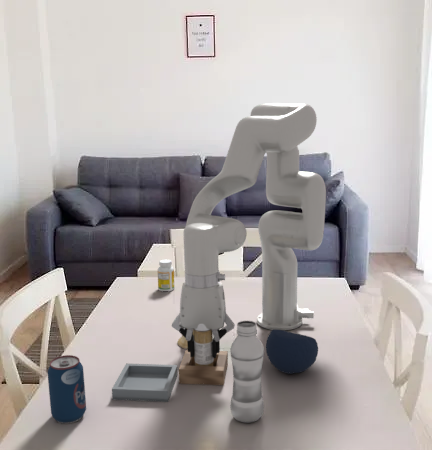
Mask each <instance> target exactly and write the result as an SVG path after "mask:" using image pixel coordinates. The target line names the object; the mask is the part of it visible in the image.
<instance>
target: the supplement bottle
mask: <svg viewBox="0 0 432 450" xmlns="http://www.w3.org/2000/svg"><path fill="white" fill-rule="evenodd" d="M158 265H159V266H158V267H157V288H158V290H159V291H160V292H163V291H168V292H171V291H173V290H175V268H174V267H173V261H172V260H171V259H167V258H165V259H161V260H159V264H158Z"/></svg>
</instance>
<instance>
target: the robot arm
mask: <svg viewBox="0 0 432 450" xmlns="http://www.w3.org/2000/svg"><path fill="white" fill-rule="evenodd" d="M317 118H318V117H317V113H316V111H315V109H314V108H313V106H311V105H309V104H307V103H298V102H297V103H289V102H288V103H287V102H285V103H283V102H282V103H281V102H271V103H262V104H258V105H256V106H253V108H252V109H251V111H250V116H246V117H243V118H241V119H240V120H239V121H238V123H237V125H236V126H235V129H234V132H233V135H232V139H231V141H230V144H229V147H228V150H227V154H226V157H225V159H224V163H223V166H222V169H221V171H220V172H219V173H218V174H217V175H216V176H214V177H213V178H212V179H211V180H209V181H208V182H207V184H205V185H204V186H203V188H202V189H201V190H200V191H198V193H197V195H196V196H195V198H194V200H193V202H192V204H191V206H190V210H189V213H188V215H187V219H186V224H185V227H184V229H183V234H182V235H183V236H182V237H183V261H184V262H183V263H184V282H183V283H182V285H181V292H180V302H179V313H178V314H177V316H176V317H175V319H174V320H173V322H172V323H171V327H172V328H173V329H174V330H176V331H177V332H179V333H180V335H181V336H182V335H183V336H184V337H185V338H186V340H187V344H188V349H187V350H188V352H190V357H194V335H193V329H196V328H197V327H198V325H199V324H204V325H205V326H206V328H207V329H212V333H213V341H212V354H213V358H216V355H217V353H219V352H220V351H221V349H220V348H221V346H220V340H221V339H222V338H223V337H224V336H225V335H227V333H229V332H230V331H232V330H233V329H235V323H234V321H233V320H232V319H231V318H230V317H229V315H228V314H227V311H226V310H227V308H226V297H225V295H226V294H225V290H224V285H223V283H222V282H223V281H226V274H225V273H221V272H220V269H219V268H220V267H219V254H222V253H230V252H234V251H237V250H239V249H240V248H241V247H242V246H243V245H244V243H245V242H246V238H247V229H246V226H245V224H244V223H243V222H242V221H241V220H238V219H236V218H233V217H225V216H224V217H223V216H219V215H212V212H213V211H214V209H215V208H216V206H217V205H218V204H219V203H220V202H221V201H224V199H226V198H228V197H230V196H232V195H234V194H236V193H240V192H242V191H244V190H247V189H249V188H251V187H253V186H254V185H255V184H257V183H256V182H257V181H258V180H257V179H258V177H259V173H260V170H261V167H262V163H263V160H264V158H265V154H266V174H265V175H266V176H265V177H266V180H265V195H266V199H267V201H268V203H270V204H272V205H274V206H280V207H288V208H297V209H301V210H302V212H295V211H288V210H279V209H278V210H269V211H267V212H265V213H264V214H262V215H261V217H260V218H259V221H258V228H257V229H258V236H259V241H260V245H261V258H262V259H261V261H262V262H261V263H262V265H261V267H262V270H261V273H262V276H261V277H262V279H261V280H262V281H261V282H262V283H261V285H262V287H261V289H262V291H261V293H262V298H261V299H262V303H261V304H262V307H261V309H262V311H261V313H260V314H258V315H257V316H256V324H258V326H259V327H262V328H264V329H267V330H270V331H272V330H274V329H278V330H284V331H290V330H294V329H297V328H299V327H301V325H303V319H314V316H315V315H314V311H311V310H309V308H300V307H299V304H298V260H297V256H296V254H295V252H294V250H293V249H295V250H301V251H302V250H304V251H314V250H317V249H319V247H320V246H321V244H322V242H323V239H324V230H325V221H326V220H325V218H326V201H327V200H326V199H327V191H326V190H327V188H326V184H325V181H324V178H323V176H321V175H320V174H319V173H317V172H312V171H311V172H310V171H300V150H299V147H298V146H300V144H302V143H304V142H305V141H306V140H308V139H309V138H310V137H311V136H312V135H313V133H314V131H315V129H316V126H317V120H318V119H317ZM187 328H188V329H187Z"/></svg>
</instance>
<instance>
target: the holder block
mask: <svg viewBox="0 0 432 450" xmlns="http://www.w3.org/2000/svg"><path fill="white" fill-rule="evenodd" d="M228 353H229V352H228V351H227V350H220V352H219V353H217V355H216V358H214V361H213V366H195V359H194V357H190V352H188V349H185V351H184V353H183V357H182V359H181V361H180V365H179V368H178V384H181V385H204V386H205V385H207V386H224V385H225V381H226V377H227V373H228V372H227V370H228V366H229V365H228V364H229V356H228V355H229V354H228Z"/></svg>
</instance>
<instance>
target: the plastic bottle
mask: <svg viewBox="0 0 432 450" xmlns="http://www.w3.org/2000/svg"><path fill="white" fill-rule="evenodd" d="M257 328H258V327H257V322H255V321H253V320H241V321H239V322H237V323H236V334H237V336H236V337H235V339H234V340H233V342H232V344H231V346H230V348H229V349H230V351H229V352H230V359H231V366H232V375H233V377H232V378H233V379H232V380H233V381H232V382H233V384H232V385H233V386H232V393H231V397H230V403H229V404H230V405H229V407H230V412H231V413H230V414H231V415H232V417H233V418H234V419H235V420H236V421H237V422H241V423H249V424H250V423H253V422H256V421H258V420H259V419H261V417H262V416H263V414H264V409H265V403H264V397H263V392H262V390H263V389H262V369H263V368H262V367H263V362H264V355H265V348H264V344H263V343H262V341H261V340H260V338H259V337H258V336H257V334H258V330H257Z"/></svg>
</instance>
